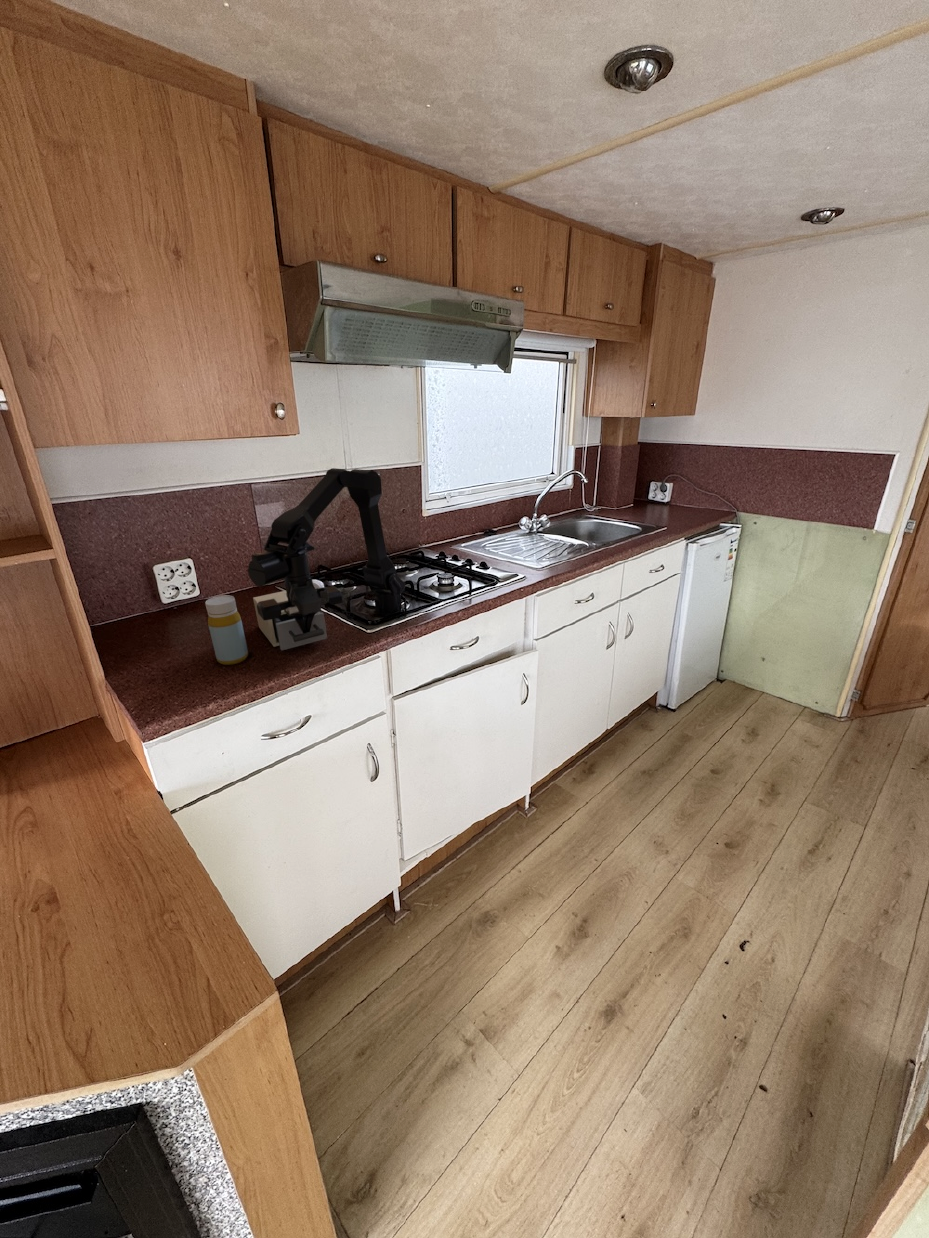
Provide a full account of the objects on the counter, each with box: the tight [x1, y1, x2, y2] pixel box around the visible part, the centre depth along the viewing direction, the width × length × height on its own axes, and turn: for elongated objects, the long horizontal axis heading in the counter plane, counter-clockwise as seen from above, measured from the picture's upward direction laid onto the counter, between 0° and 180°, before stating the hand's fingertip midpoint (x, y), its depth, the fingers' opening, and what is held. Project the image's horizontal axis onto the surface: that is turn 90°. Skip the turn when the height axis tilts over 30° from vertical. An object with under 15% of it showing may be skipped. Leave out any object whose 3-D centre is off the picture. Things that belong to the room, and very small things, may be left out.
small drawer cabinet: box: [252, 590, 321, 648], centre depth 139 cm, size 15×13×9 cm
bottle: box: [204, 594, 249, 666], centre depth 124 cm, size 7×7×15 cm
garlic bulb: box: [312, 579, 325, 589], centre depth 164 cm, size 6×6×5 cm
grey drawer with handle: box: [272, 611, 328, 651], centre depth 133 cm, size 19×11×7 cm, turn 33°
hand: (306, 635), depth 127 cm, fingers closed, pressing on grey drawer with handle
